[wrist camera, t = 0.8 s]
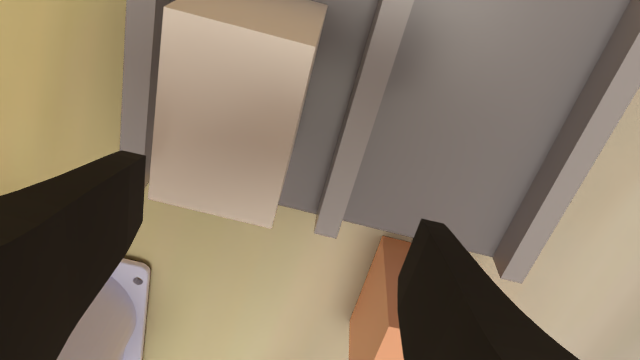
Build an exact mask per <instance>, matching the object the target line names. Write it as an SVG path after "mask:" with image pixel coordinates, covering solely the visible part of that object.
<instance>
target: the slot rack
mask: <svg viewBox="0 0 640 360" xmlns="http://www.w3.org/2000/svg"><path fill="white" fill-rule="evenodd" d="M173 1H175V0H127V1H126V23H125V45H124V68H123V90H122V112H121V134H120V151H121V150H123V151H128V152H132V153H137V154H141V155H145V156H146V167H145V185H144V188H145V187H146V185H147V184H148V183H149V179H150V167H151V155H152V143H153V130H154V118H155V106H156V94H157V82H158V69H159V57H160V45H161V33H162V21H163V8H164V6H166V5H168V4H170V3H171V2H173ZM311 1H315V2H318V3H322V4H326V5H328V7H327V11H326V15H325V19H324V23H323V28H322V32H321V36H320V40H319V44H318V48H317V52H316V56H315V60H314V64H313V69H312V73H311V77H310V81H309V85H308V89H307V93H306V97H305V101H304V106H303V110H302V114H301V118H300V122H299V126H298V130H297V134H296V138H295V143H294V147H293V150H292V154H291V158H290V162H289V165H288V169H287V173H286V177H285V181H284V184H283V188H282V192H281V196H280V199H279V203H278V205H281V206H285V207H289V208H293V209H297V210H301V211H306V212H310V213H314V214H316V222H315V229H314V233H315V234H319V235H323V236H327V237H331V238H335V239H336V238H337V235H338V232H339V229H340V226H341V223H342V221H346V222H351V223H355V224H359V225H363V226H367V227H371V228H375V229H379V230H383V231H387V232H392V233H396V234H400V235H404V236H408V237H412V238H414V236H415V233H416V231H417V228H418V225H419V223H420V220H421V218H422V219H426V220H431V221H435V222H440V223H444V224H445V225H446V226H447V227H448V228H449V229H450V231H451V232H452V233H453V234H454V235H455V236H456V238H457V239H458V240H459V241H460V243H461V244H462V245H463V246H464V247H465V249H466V250H467V251H469V252H473V253H478V254H482V255H486V256H490V257H493V260H494V262H495V265H496V268H497V270H498V273H499V276H500V278H501V279H505V280H509V281H513V282H517V283H523V281H524V279H525V278H526V276H527V274H528V273H529V271H530V269H531V268H532V266H533V264H534V263H535V261H536V259H537V258H538V256H539V254H540V253H541V251H542V249H543V247H544V246H545V244H546V242H547V241H548V239H549V237H550V236H551V234H552V232H553V231H554V229H555V227H556V226H557V224H558V222H559V221H560V219H561V217H562V216H563V214H564V212H565V211H566V209H567V207H568V206H569V204H570V202H571V201H572V199H573V197H574V196H575V194H576V192H577V191H578V189H579V187H580V186H581V184H582V182H583V181H584V179H585V177H586V176H587V174H588V172H589V171H590V169H591V167H592V166H593V164H594V162H595V161H596V159H597V157H598V156H599V154H600V152H601V150H602V149H603V147H604V145H605V144H606V142H607V140H608V139H609V137H610V135H611V134H612V132H613V130H614V129H615V127H616V125H617V124H618V122H619V120H620V119H621V117H622V115H623V114H624V112H625V110H626V109H627V107H628V105H629V104H630V102H631V100H632V99H633V97H634V95H635V94H636V92H637V90H638V89H639V87H640V0H311Z"/></svg>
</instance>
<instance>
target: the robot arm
mask: <svg viewBox="0 0 640 360" xmlns="http://www.w3.org/2000/svg"><path fill="white" fill-rule="evenodd" d="M145 167H146V156H145V155H141V154H137V153H132V152H128V151H123V150H121V151H118V152H115V153H113V154H110V155H108V156H105V157H103V158H100V159H98V160H95V161H93V162H91V163H88V164H86V165H84V166H81V167H79V168H76V169H74V170H71V171H69V172H66V173H64V174H62V175H59V176H57V177H54V178H51V179H48V180H46V181H43V182H40V183H37V184H35V185H32V186H29V187H26V188H24V189H21V190H18V191H15V192H12V193H9V194H5V195H2V196H0V360H142V357H143V347H144V336H145V325H146V314H147V304H148V293H149V282H150V268H149V267H148V266H147V265H146V264H144V263H141V262H137V261H133V260H129V259H124V256H125V255H126V253H127V251H128V249H129V247H130V246H131V244H132V242H133V240H134V238H135V236H136V234H137V232H138V230H139V228H140V226H141V223H142V221H143V204H144V185H145ZM137 277H139V278H141V279H142V280H140V279H138V278H137ZM397 311H398V320H399V328H400V336H401V343H402V350H403V358H404V360H579V359H578V358H577V357H575V356H574V355H573V354H571V353H570V352H569V351H568V350H566V349H565V348H564V347H562V346H561V345H560V344H559V343H557V342H556V341H555V340H554V339H552V338H551V337H550V336H549V335H548V334H546V333H545V332H544V331H543V330H542V329H541V328H540V327H539V326H538V325H536V324H535V323H534V322H533V321H532V320H531V319H530V318H529V317H528V316H526V315H525V314H524V313H523V312H522V311H521V310H520V309H519V308H518V307H517V306H516V305H515V304H514V303H513V302H512V301H511V300H510V299H509V298H508V297H507V296H506V295H505V294H504V293H503V291H502V290H501V289H500V288H499V287H498V286H497V285H496V284H495V283H494V282H493V281H492V279H491V278H490V277H489V276H488V275H487V274H486V273H485V272H484V270H483V269H482V268H481V267H480V266H479V264H478V263H477V262H476V261H475V260H474V258H473V257H472V256H471V255H470V254H469V252H468V251H467V250H466V249H465V247H464V246H463V245H462V244H461V243H460V241H459V240H458V239H457V238H456V236H455V235H454V234H453V233H452V232H451V231H450V229H449V228H448V227H447V226H446V225H445V224H444V223H440V222H435V221H431V220H426V219H422V218H421V220H420V223H419V225H418V228H417V231H416V233H415V236H414V238H413V241H412V243H411V246H410V248H409V251H408V253H407V256H406V258H405V261H404V263H403V266H402V268H401V271H400V273H399V276H398V291H397Z"/></svg>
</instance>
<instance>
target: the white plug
mask: <svg viewBox="0 0 640 360" xmlns="http://www.w3.org/2000/svg"><path fill="white" fill-rule="evenodd" d="M327 7H328V5H326V4H322V3H318V2H315V1H311V0H175V1H173V2H171V3H170V4H168V5H166V6H164V8H163V21H162V33H161V45H160V57H159V69H158V82H157V94H156V106H155V118H154V130H153V143H152V155H151V167H150V179H149V191H148V199H149V200H154V201H158V202H162V203H166V204H170V205H174V206H178V207H183V208H187V209H191V210H195V211H199V212H203V213H208V214H212V215H216V216H220V217H224V218H228V219H232V220H237V221H241V222H245V223H249V224H253V225H257V226H261V227H266V228H270V229H272V226H273V222H274V218H275V214H276V211H277V207H278V203H279V199H280V196H281V192H282V188H283V184H284V181H285V177H286V173H287V169H288V165H289V162H290V158H291V154H292V150H293V147H294V143H295V138H296V134H297V130H298V126H299V122H300V118H301V114H302V110H303V106H304V101H305V97H306V93H307V89H308V85H309V81H310V77H311V73H312V69H313V64H314V60H315V56H316V52H317V48H318V44H319V40H320V36H321V32H322V28H323V23H324V19H325V15H326V11H327Z"/></svg>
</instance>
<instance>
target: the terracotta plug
mask: <svg viewBox="0 0 640 360" xmlns="http://www.w3.org/2000/svg"><path fill="white" fill-rule="evenodd" d="M410 246H411V243H410V242H406V241H402V240H398V239H394V238H390V237H386V236H382V238H381V241H380V243H379V246H378V249H377V251H376V254H375V256H374V259H373V262H372V264H371V267H370V269H369V272H368V275H367V277H366V280H365V282H364V285H363V288H362V290H361V293H360V295H359V298H358V301H357V303H356V306H355V308H354V311H353V314H352V316H351V319H350V328H349V360H404V358H403V350H402V343H401V336H400V328H399V320H398V311H397V291H398V276H399V273H400V271H401V268H402V266H403V263H404V261H405V258H406V256H407V253H408V251H409V248H410Z"/></svg>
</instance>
